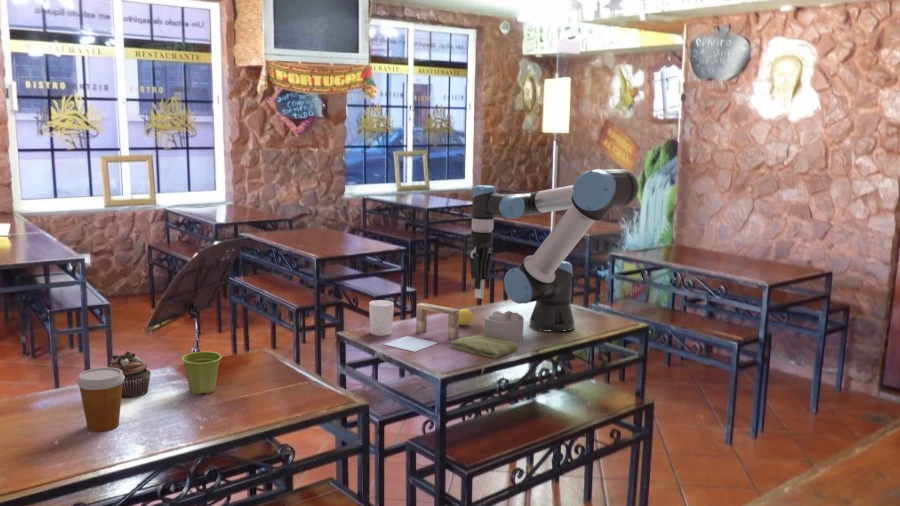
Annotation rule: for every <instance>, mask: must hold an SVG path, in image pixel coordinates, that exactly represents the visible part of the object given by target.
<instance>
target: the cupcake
mask: <svg viewBox="0 0 900 506" xmlns="http://www.w3.org/2000/svg"><path fill="white" fill-rule="evenodd" d="M147 367H148V364H147V362H145V361H143V360H142V359H141V358H140V357H138V355H136V353H131V351H126V352H125V353H124V354H121V355H112V358H111V361H110V364H109V366H108V368H117V369H120V370H122V372H123V375H124V376H125V379H124V382H123V386H122V396H121V399H122V400H123V399H135V398H139V397H142V396H146V394H148V392H149V387H150V386H149V385H150V380H151V374H152V372H151V371H150V370H149V369H148V368H147Z"/></svg>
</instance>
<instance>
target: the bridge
mask: <svg viewBox="0 0 900 506" xmlns="http://www.w3.org/2000/svg"><path fill="white" fill-rule="evenodd" d="M428 311H431V312H435V313H436V312H437V313H442V314H446V315H448V318H447V319H448V321H447V322H448V323H447V324H448V325H447V339H448V340H451V341H454V340H457V339H458V338H459V328H460V327H459V325H460V324H459V311H460V309H457V308H453V307H447V306H443V305H442V306H440V305H436V304H431V303H425V302H421V303H417V304H416V322H415V323H416V325H415V332H416V333H420V334H422V333H425V332H427V328H428V327H427V326H428V325H427V324H428V323H427V322H428V320H427V319H428Z"/></svg>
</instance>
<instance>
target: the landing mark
mask: <svg viewBox="0 0 900 506" xmlns="http://www.w3.org/2000/svg"><path fill="white" fill-rule="evenodd" d="M438 344H439V343H438V342H436V341H430V340H425V339H423V338H418V337H413V336H410V335H409V336H408V335H406V336H403V337H400V338H397V339H394V340H391V341H388V342H386V343H383V344H382V345H383V346H386V347H390V348H396V349H400V350H404V351H407V352H411V353H416V352H419V351H422V350H424V349H426V348H429V347H432V346H435V345H438Z"/></svg>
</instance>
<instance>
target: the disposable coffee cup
mask: <svg viewBox="0 0 900 506" xmlns="http://www.w3.org/2000/svg"><path fill="white" fill-rule="evenodd" d="M108 367H109V366H108ZM108 367H97V368H91V369H87V370H85V371H82V372H80V373H79V374H78V379H76V383H77V385H78V387H79V391H80V396H81V402H82V407H83V412H84V417H85V423H86V428H87V430H88V431H90V432H97V433H98V432H99V433H100V432H108V431H112V430H114V429H116V428H118V427H119V425H120V414H121V405H122V398H121V396H122V386H123V382H124V379H125V376H124V375H123V372H122V370H120V369H117V368H108Z"/></svg>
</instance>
